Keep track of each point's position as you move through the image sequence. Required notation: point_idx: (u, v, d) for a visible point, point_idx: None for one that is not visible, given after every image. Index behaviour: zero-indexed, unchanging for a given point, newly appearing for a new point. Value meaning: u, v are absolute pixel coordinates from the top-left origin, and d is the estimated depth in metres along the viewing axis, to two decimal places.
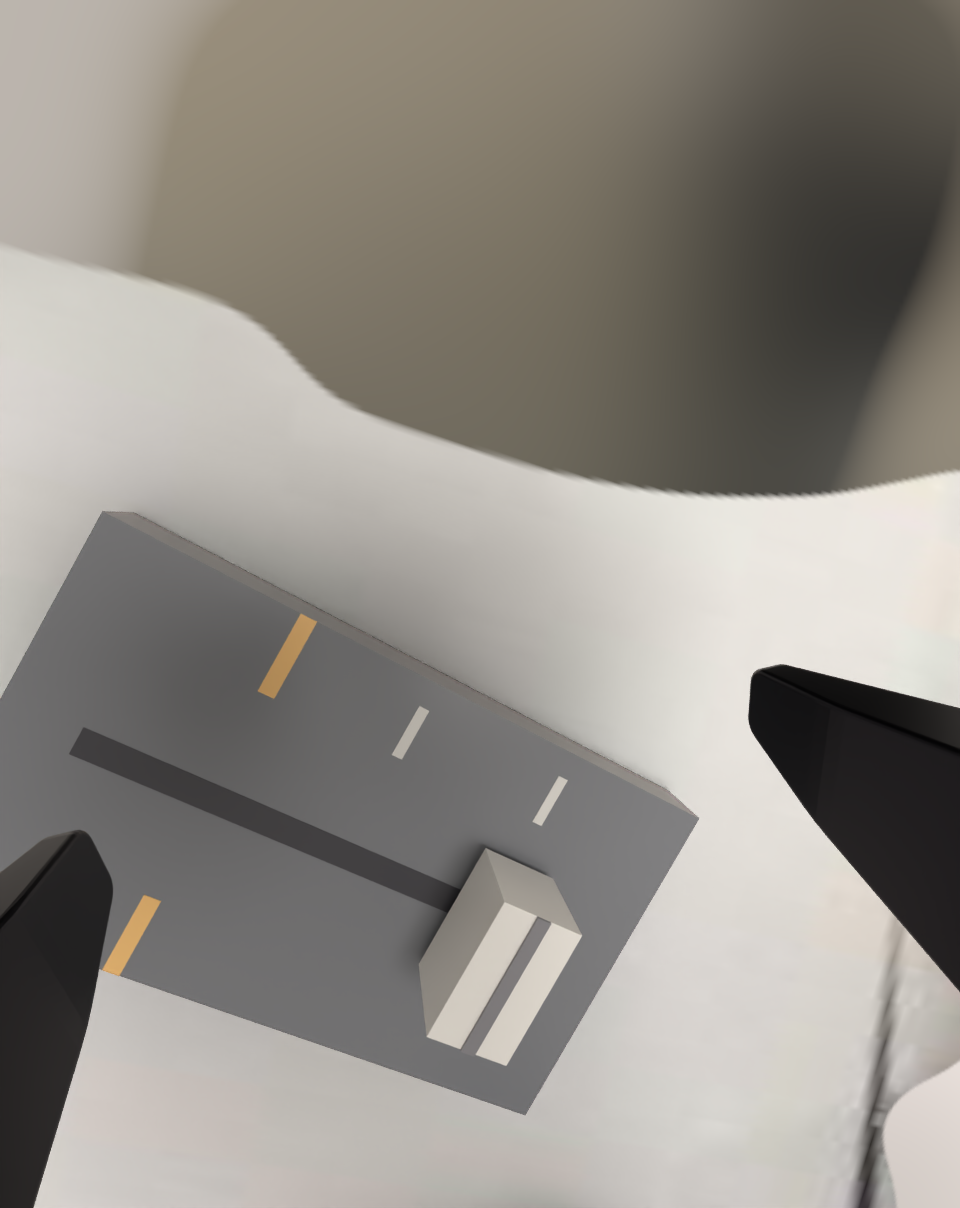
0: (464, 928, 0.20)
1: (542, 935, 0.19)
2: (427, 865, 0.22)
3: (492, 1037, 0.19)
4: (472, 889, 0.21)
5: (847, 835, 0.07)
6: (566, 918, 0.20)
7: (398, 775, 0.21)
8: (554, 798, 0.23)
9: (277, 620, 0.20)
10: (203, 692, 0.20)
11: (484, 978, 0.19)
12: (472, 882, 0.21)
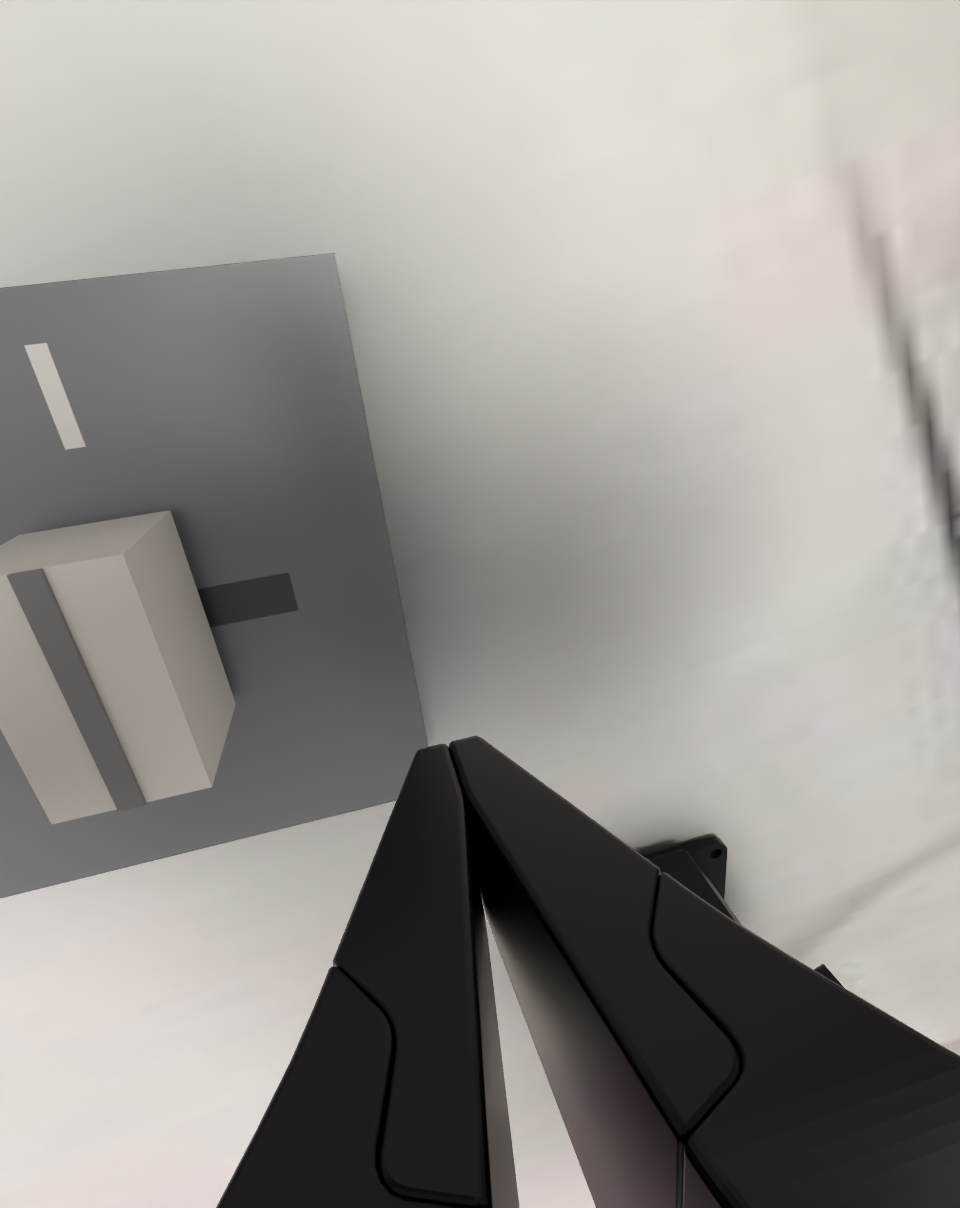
0: None
1: (54, 595, 0.10)
2: None
3: (147, 769, 0.12)
4: None
5: (498, 936, 0.07)
6: (111, 546, 0.11)
7: None
8: (58, 388, 0.12)
9: None
10: None
11: (38, 711, 0.11)
12: None
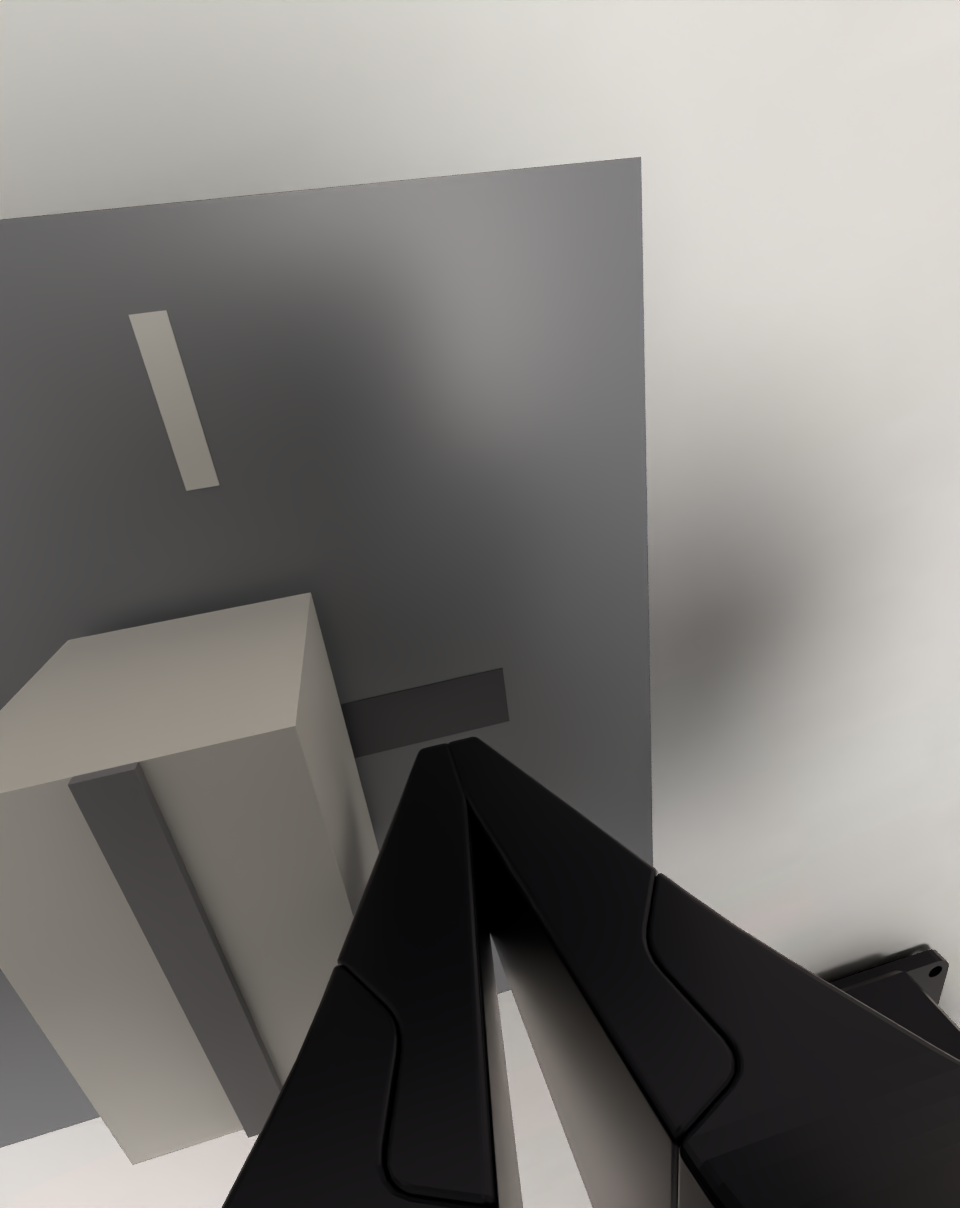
0: None
1: (159, 808, 0.05)
2: None
3: None
4: None
5: (495, 937, 0.07)
6: (257, 696, 0.06)
7: None
8: (181, 390, 0.07)
9: None
10: None
11: (119, 1003, 0.06)
12: None
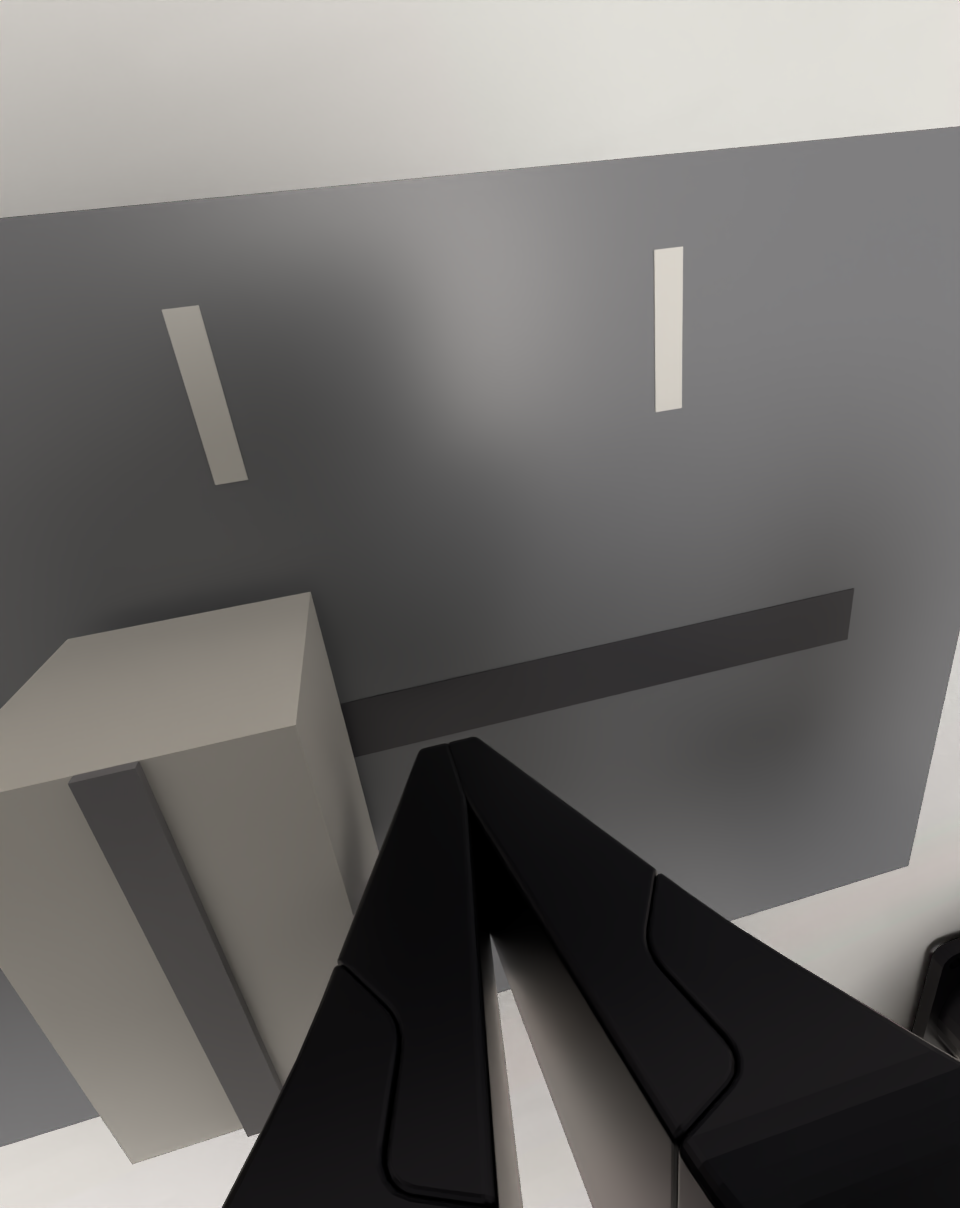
0: None
1: (159, 808, 0.05)
2: (492, 650, 0.09)
3: None
4: None
5: (495, 937, 0.07)
6: (257, 696, 0.06)
7: (275, 520, 0.08)
8: (675, 319, 0.08)
9: None
10: None
11: (119, 1001, 0.06)
12: None
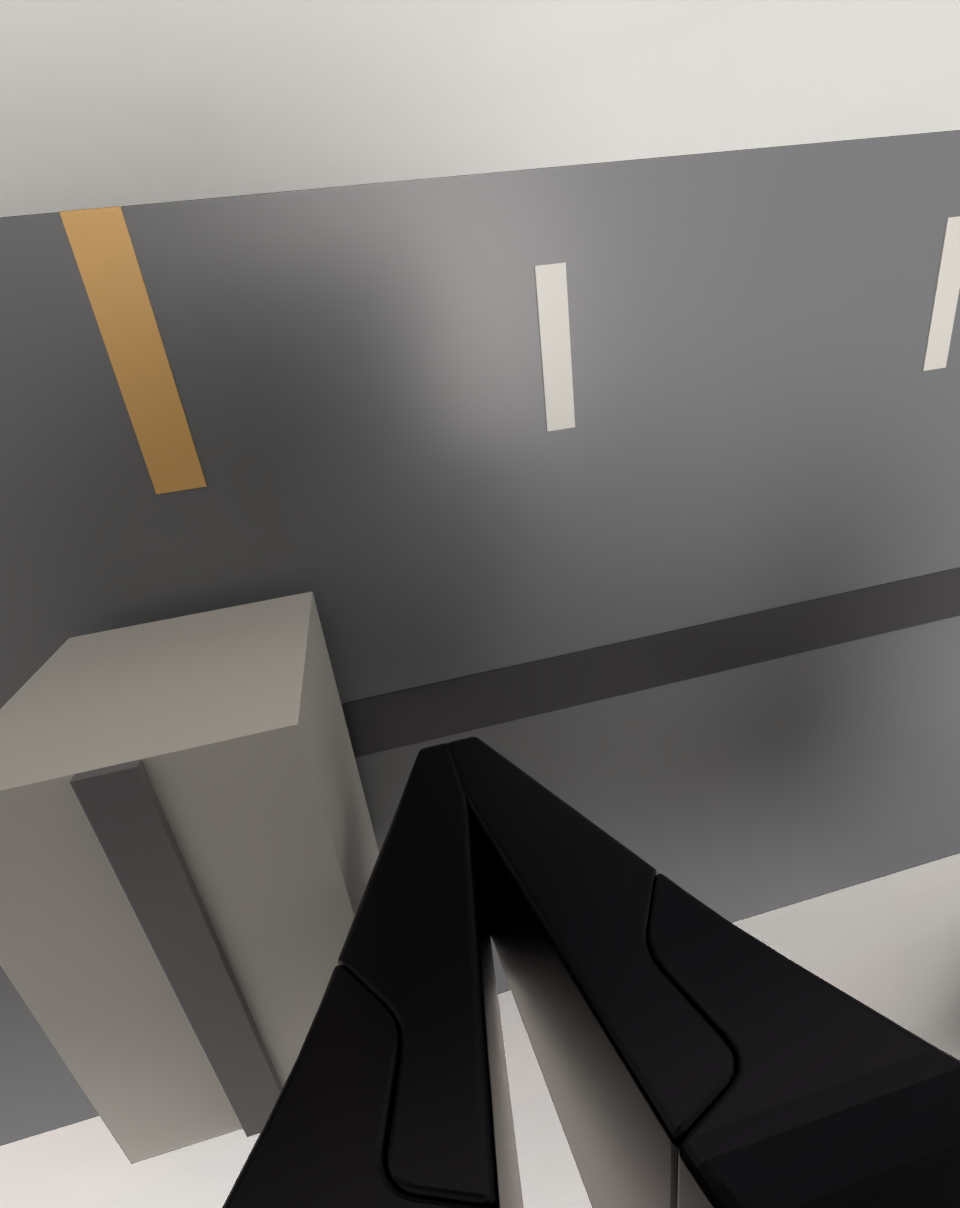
0: None
1: (161, 805, 0.05)
2: (746, 596, 0.10)
3: None
4: None
5: (495, 937, 0.07)
6: (259, 694, 0.06)
7: (589, 466, 0.09)
8: (953, 283, 0.09)
9: (25, 279, 0.06)
10: (54, 577, 0.08)
11: (119, 999, 0.06)
12: None
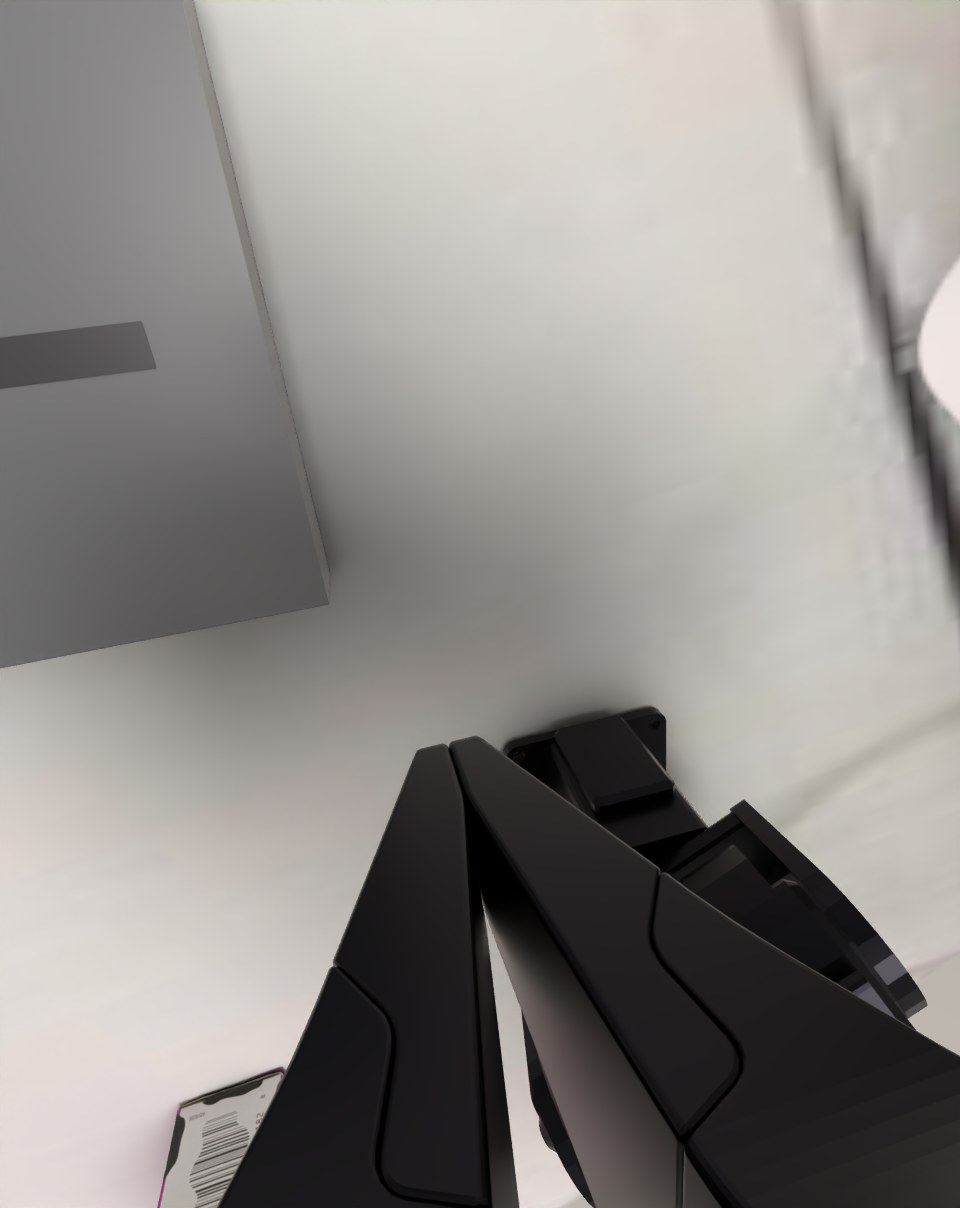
0: None
1: None
2: None
3: None
4: None
5: (498, 936, 0.07)
6: None
7: None
8: None
9: None
10: None
11: None
12: None
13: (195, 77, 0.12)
